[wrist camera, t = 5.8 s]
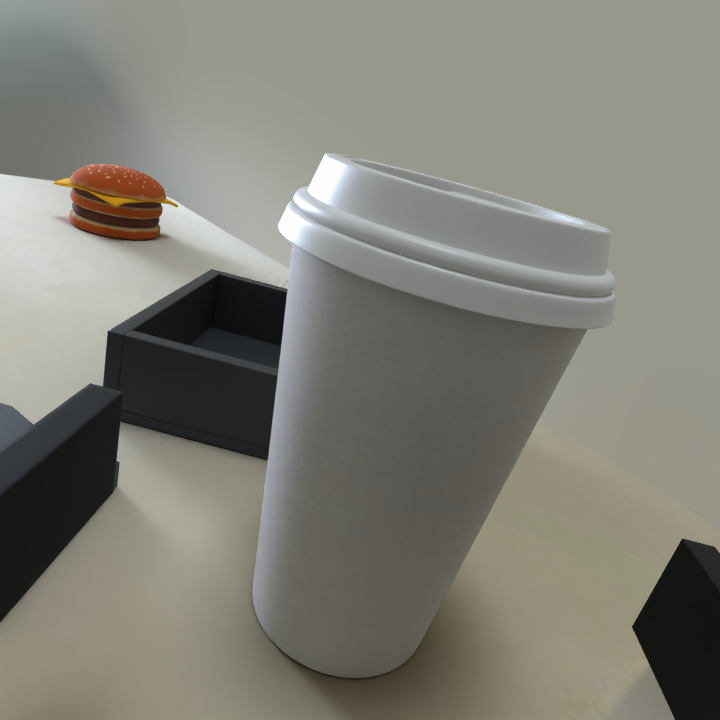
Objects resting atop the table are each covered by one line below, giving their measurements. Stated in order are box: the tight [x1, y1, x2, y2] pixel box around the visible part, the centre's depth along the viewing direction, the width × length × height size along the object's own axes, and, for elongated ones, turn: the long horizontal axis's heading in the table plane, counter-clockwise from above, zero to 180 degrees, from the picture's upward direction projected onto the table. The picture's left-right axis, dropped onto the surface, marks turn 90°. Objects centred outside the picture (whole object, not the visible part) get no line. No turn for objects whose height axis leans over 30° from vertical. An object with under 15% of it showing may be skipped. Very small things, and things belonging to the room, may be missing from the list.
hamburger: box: [54, 164, 178, 240], centre depth 60 cm, size 9×10×7 cm
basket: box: [103, 269, 288, 459], centre depth 34 cm, size 15×15×5 cm
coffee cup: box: [252, 153, 615, 678], centre depth 18 cm, size 10×10×15 cm
